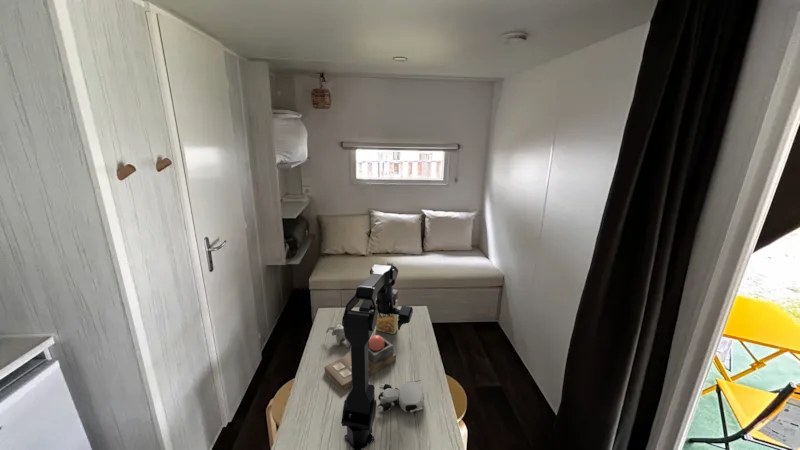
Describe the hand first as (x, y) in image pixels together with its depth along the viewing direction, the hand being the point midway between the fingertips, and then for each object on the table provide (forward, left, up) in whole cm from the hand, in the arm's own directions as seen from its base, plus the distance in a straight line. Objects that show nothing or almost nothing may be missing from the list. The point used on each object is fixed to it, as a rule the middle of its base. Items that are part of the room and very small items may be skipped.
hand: (387, 327), depth 125 cm
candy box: (+13, +16, -15) cm, 26 cm away
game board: (-9, +4, -15) cm, 18 cm away
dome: (-2, +4, -11) cm, 12 cm away
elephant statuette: (-7, +22, -15) cm, 28 cm away
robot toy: (-9, -18, -16) cm, 26 cm away
